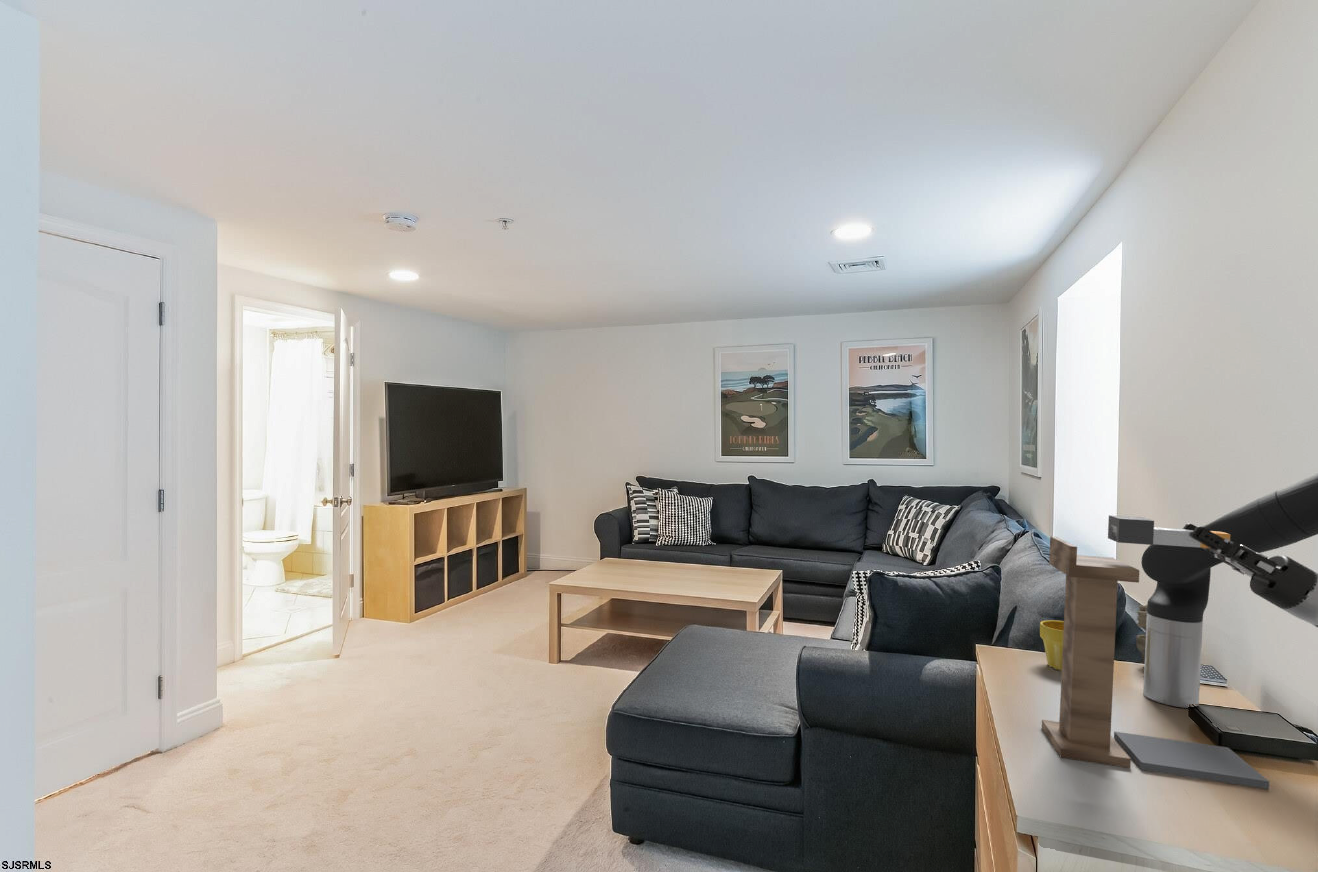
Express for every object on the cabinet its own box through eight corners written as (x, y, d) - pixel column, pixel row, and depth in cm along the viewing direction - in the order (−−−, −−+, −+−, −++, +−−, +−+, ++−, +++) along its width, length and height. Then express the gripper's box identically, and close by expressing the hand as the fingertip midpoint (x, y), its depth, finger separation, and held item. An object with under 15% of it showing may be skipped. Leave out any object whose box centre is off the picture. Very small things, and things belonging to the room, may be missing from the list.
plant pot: (1031, 665, 159) (1033, 624, 159) (1046, 657, 166) (1048, 617, 166) (1081, 679, 151) (1083, 635, 151) (1095, 669, 159) (1097, 627, 158)
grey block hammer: (1107, 538, 118) (1108, 515, 118) (1217, 545, 114) (1218, 521, 114) (1118, 542, 114) (1119, 518, 114) (1232, 550, 109) (1234, 525, 109)
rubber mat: (1113, 738, 121) (1114, 731, 121) (1227, 754, 116) (1228, 747, 116) (1141, 769, 110) (1141, 762, 110) (1268, 789, 105) (1269, 781, 105)
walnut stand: (1041, 727, 124) (1050, 536, 124) (1104, 736, 121) (1113, 540, 121) (1060, 757, 113) (1070, 546, 112) (1130, 768, 110) (1140, 551, 110)
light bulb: (1168, 673, 158) (1171, 608, 158) (1141, 670, 159) (1144, 606, 159) (1155, 665, 163) (1158, 602, 163) (1130, 662, 164) (1132, 600, 164)
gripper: (1286, 563, 115) (1184, 506, 119) (1343, 579, 101) (1225, 515, 106) (1257, 599, 116) (1157, 541, 120) (1310, 620, 103) (1195, 554, 107)
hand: (1190, 529), depth 113 cm, fingers closed on grey block hammer, 3 cm apart
